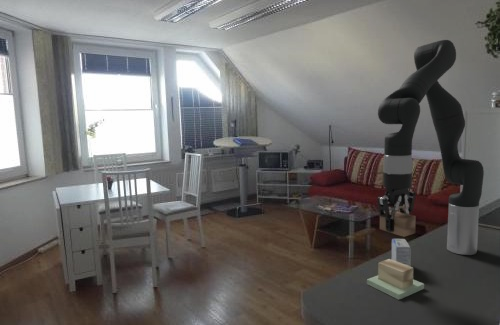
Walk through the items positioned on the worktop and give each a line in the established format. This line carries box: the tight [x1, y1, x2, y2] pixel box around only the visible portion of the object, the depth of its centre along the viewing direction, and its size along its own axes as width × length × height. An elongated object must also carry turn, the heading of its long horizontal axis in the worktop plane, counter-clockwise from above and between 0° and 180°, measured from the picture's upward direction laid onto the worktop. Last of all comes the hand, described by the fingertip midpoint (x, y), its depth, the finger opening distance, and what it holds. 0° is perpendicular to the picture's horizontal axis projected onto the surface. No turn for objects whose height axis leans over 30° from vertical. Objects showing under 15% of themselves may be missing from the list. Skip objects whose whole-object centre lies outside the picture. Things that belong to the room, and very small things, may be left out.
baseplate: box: [366, 274, 425, 300], centre depth 103 cm, size 11×11×2 cm
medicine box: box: [390, 238, 412, 267], centre depth 115 cm, size 8×4×9 cm, turn 168°
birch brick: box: [377, 258, 414, 289], centre depth 103 cm, size 5×8×5 cm, turn 32°
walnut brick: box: [379, 210, 417, 238], centre depth 100 cm, size 5×8×5 cm, turn 31°
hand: (396, 229), depth 101 cm, fingers closed on walnut brick, 5 cm apart
